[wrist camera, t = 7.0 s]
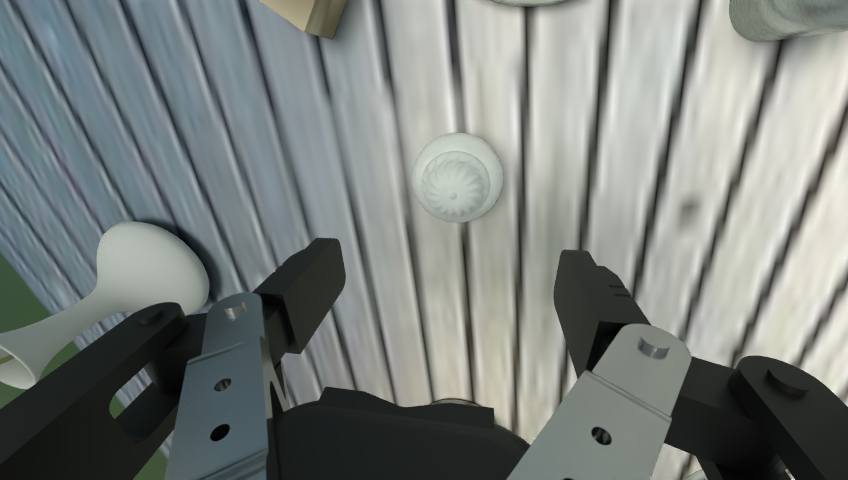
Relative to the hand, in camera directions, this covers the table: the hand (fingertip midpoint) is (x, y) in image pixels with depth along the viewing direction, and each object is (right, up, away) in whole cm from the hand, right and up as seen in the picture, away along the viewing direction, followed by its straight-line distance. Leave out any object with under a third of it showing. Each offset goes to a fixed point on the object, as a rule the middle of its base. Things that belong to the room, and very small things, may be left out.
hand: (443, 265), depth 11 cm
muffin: (+2, +7, +13) cm, 15 cm away
